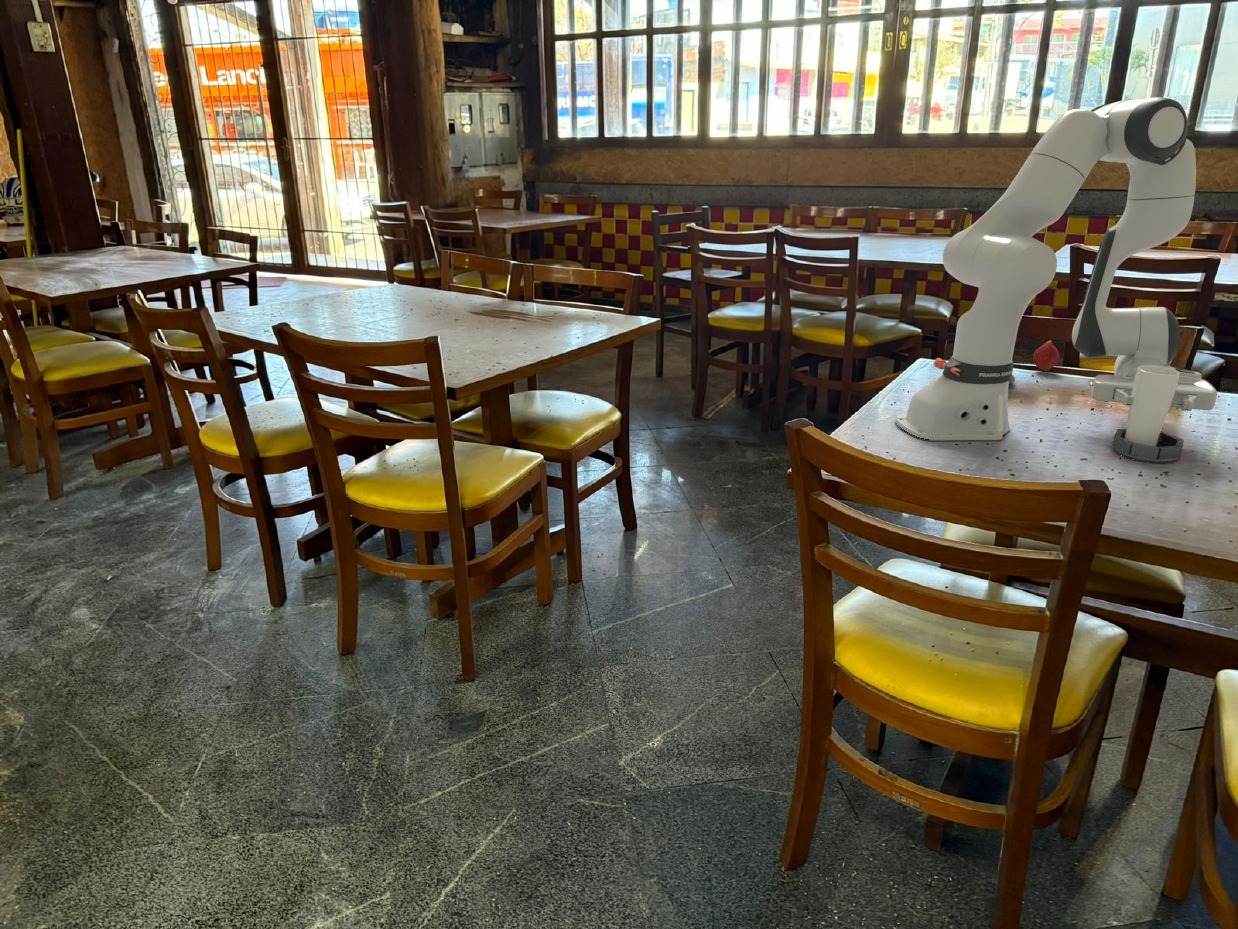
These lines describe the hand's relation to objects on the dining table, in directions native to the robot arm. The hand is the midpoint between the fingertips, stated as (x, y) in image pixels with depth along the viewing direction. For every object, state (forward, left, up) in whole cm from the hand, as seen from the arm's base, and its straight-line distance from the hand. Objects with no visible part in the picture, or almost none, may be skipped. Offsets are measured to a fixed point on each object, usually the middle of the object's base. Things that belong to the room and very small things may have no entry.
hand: (1157, 404), depth 154 cm
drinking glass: (-1, +2, -9) cm, 9 cm away
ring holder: (0, +1, -10) cm, 10 cm away
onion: (+17, +56, -10) cm, 59 cm away
